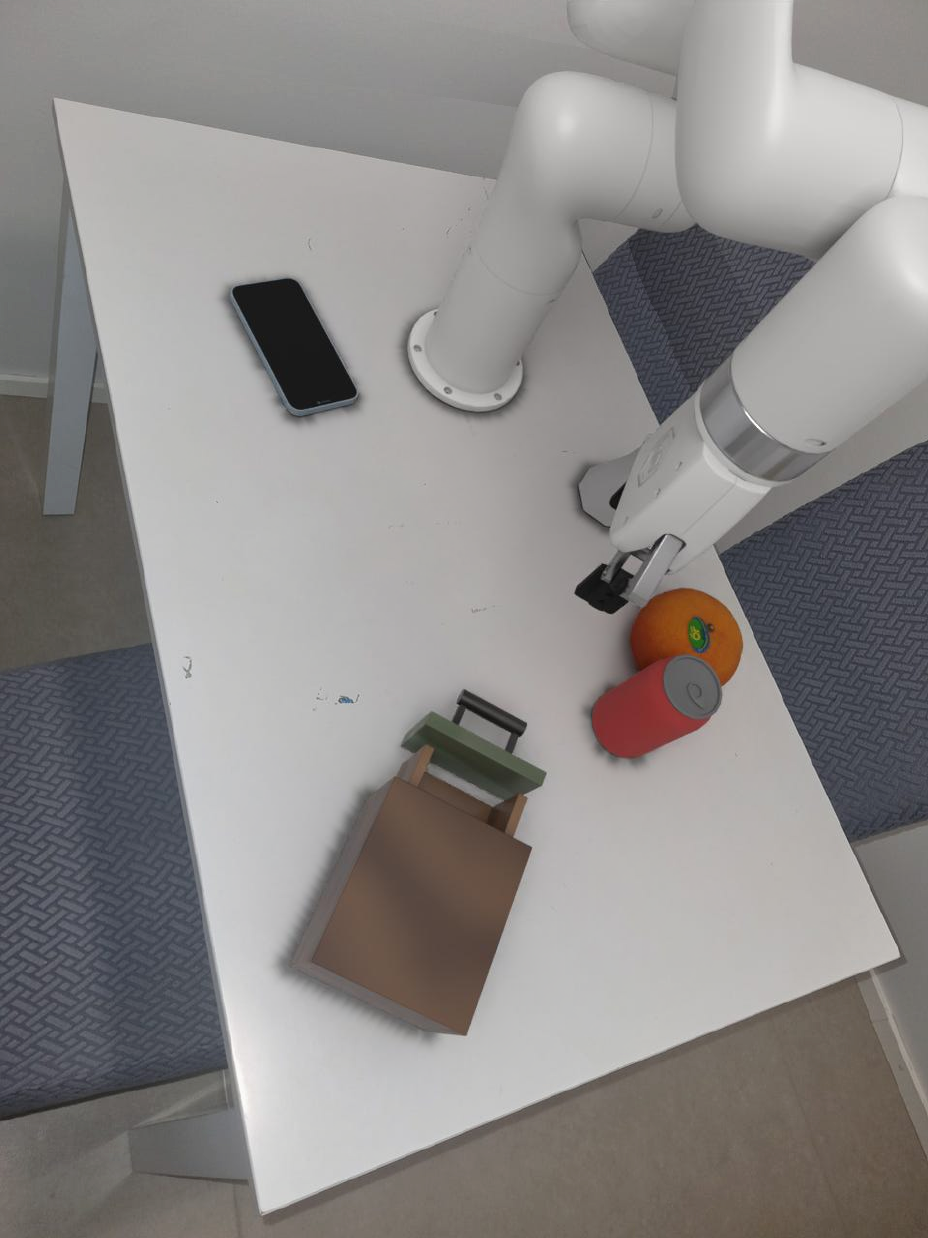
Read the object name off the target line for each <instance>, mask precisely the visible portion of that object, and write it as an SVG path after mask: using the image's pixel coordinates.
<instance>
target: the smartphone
mask: <svg viewBox="0 0 928 1238" xmlns="http://www.w3.org/2000/svg"><path fill="white" fill-rule="evenodd" d="M229 300H230V302H231V305H232V306H233V308H234V310H235V312H236V314H237V316H238V317H239V320H240V321H241V323H242V325H243V328H244V329H245V331H246V333H247V335H248V337H249V338H250V341H251V343H252V345H253V347H254V348H255V350H256V352H257V354H258V356H259V358H260V360H261V363H262V364H263V366H264V368H265V370H266V372H267V373H268V376H269V377H270V379H271V382H272V383H273V386H274V388H275V389H276V391H277V393H278V394H279V397H280V399H281V401H282V403H283V404H284V407H285V408H286V410H287V411H288V412H289V413H290V414H292V415H294V416H297V417H302V416H307V415H311V414H316V413H319V412H324V411H329V410H332V409H336V408H340V407H345V406H349V405H352V404H354V403H355V402H356V400H357V397H358V395H359V389H358V387H357V385H356V382H354V379H353V378H352V376H351V374H350V372H349V370H348V368H347V367H346V365H345V363H344V361H343V359H342V358H341V355H340V354H339V352H338V350H337V349H336V346H335V344H334V343H333V341H332V338H331V337H330V335H329V333H328V332H327V330H326V328H325V326H324V324H323V322H322V320H321V319H320V317H319V315H318V313H317V311H316V310H315V308H314V306H313V304H312V302H311V300H310V298H309V296H308V295H307V293H306V291H305V289H304V287H303V285H302V284H301V283H300V281H299V280H298V279H296V278H294V277H288V276H287V277H279V278H273V279H266V280H259V281H252V282H247V283H240V284H235V285H233V286H232V288H230V295H229Z"/></svg>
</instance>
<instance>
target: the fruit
mask: <svg viewBox="0 0 928 1238" xmlns="http://www.w3.org/2000/svg"><path fill="white" fill-rule="evenodd" d="M629 646H630V651H631V654H632V655H631V656H632V658H633V661H634V664H635V666H636V668H637V670H638V672H640V671H642V670H643V669H645V668H646V667H648V666H650V665H651V664H653V663H655V662H656V661H658V660H659V659H663V658H668V657H672V656H679V655H683V654H688V655H694V656H697V657H699V658H701V659H703V660H704V661H705V662H706V663H708V664H709V665H710V666H711V667H712V668H713V670H714V671H715V673H716V674H717V676H718V678H719V681H720V683H721V687H723V686H725V685H726V684H728V682H729V681H730V680H731V679H732V678H733V676H734V675H735V673H736V672H737V670H738V667H739V666H740V662H741V658H742V654H743V650H744V640H743V634H742V630H741V628H740V626H739V623H738V622H737V620H736V618H735V617H734V615H733V613H732V612H731V610H730V609H729V608H728V607H727V606H726V605H725V604H724V603H723V602H722V601H720V600H719V599H717V598H716V597H715V596H713V595H711V594H709V593H707V592H704V591H702V590H698V589H695V588H691V587H680V588H675V589H670V590H665V591H663V592H661V593H659V594H656V595H655V596H652V597H651V598H650V600H649V602H648V603H647V605H646V606H645V607H643V608H641V607H640V609H639V610H638V612H637V615H636V616H635V618H634V620H633V623H632V625H631V628H630V632H629Z"/></svg>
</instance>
